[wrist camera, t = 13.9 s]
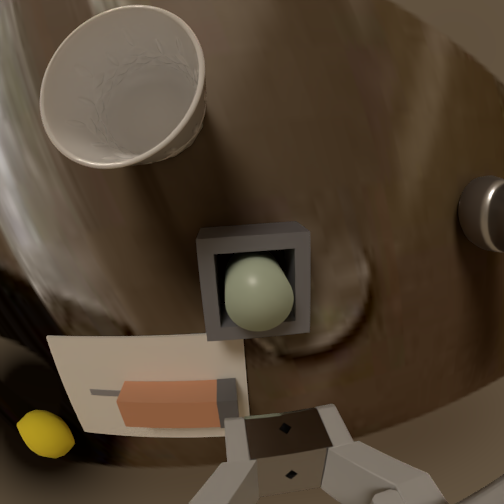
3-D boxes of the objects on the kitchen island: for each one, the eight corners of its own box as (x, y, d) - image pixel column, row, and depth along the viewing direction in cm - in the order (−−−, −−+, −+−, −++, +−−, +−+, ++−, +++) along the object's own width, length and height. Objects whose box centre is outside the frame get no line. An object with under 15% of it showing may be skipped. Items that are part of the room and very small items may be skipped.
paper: (85, 429, 27) (84, 432, 27) (47, 335, 24) (45, 337, 24) (251, 432, 29) (251, 434, 28) (242, 330, 26) (243, 332, 25)
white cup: (207, 171, 22) (194, 172, 13) (103, 167, 22) (31, 169, 12) (218, 67, 20) (215, 2, 11) (115, 67, 20) (57, 16, 10)
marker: (132, 405, 26) (125, 427, 23) (124, 380, 26) (115, 401, 23) (238, 403, 27) (240, 426, 24) (235, 377, 26) (237, 400, 23)
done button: (227, 301, 24) (227, 334, 19) (222, 249, 23) (222, 270, 18) (280, 297, 24) (293, 328, 19) (279, 245, 23) (293, 265, 18)
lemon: (78, 410, 27) (68, 446, 22) (79, 440, 28) (72, 474, 23) (21, 392, 25) (5, 424, 20) (26, 423, 27) (14, 454, 22)
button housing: (209, 316, 25) (207, 341, 21) (200, 227, 23) (195, 239, 19) (297, 308, 25) (309, 332, 22) (296, 221, 24) (310, 231, 20)
